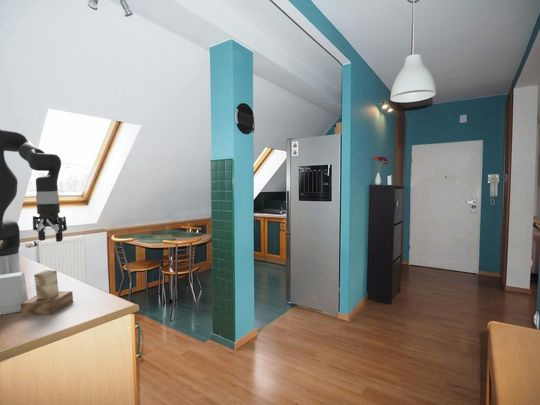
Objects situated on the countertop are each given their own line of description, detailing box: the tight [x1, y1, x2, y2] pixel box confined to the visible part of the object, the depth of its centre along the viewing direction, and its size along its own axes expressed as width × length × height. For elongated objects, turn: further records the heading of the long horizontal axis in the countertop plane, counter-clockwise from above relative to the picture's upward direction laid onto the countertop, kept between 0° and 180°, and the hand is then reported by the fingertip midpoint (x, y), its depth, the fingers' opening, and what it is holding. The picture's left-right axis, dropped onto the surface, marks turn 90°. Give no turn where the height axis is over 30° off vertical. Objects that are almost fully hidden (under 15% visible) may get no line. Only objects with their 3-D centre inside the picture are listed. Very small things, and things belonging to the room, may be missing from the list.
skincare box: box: [0, 271, 29, 316], centre depth 118 cm, size 8×6×15 cm
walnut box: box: [20, 290, 74, 316], centre depth 120 cm, size 12×12×5 cm
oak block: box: [33, 269, 59, 299], centre depth 120 cm, size 5×5×10 cm
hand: (50, 240), depth 123 cm, fingers open, 8 cm apart
